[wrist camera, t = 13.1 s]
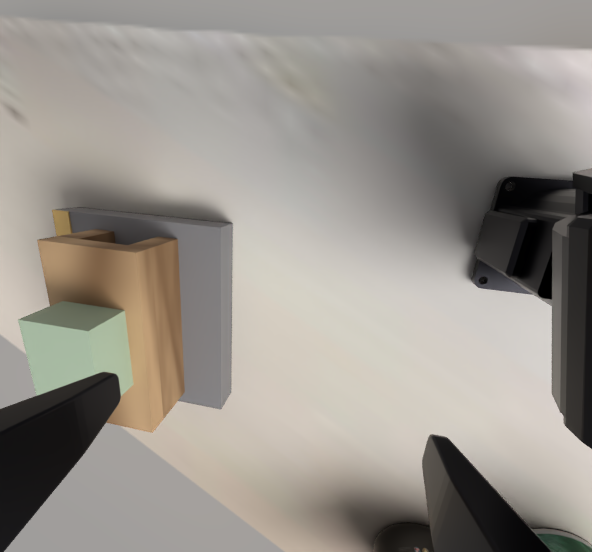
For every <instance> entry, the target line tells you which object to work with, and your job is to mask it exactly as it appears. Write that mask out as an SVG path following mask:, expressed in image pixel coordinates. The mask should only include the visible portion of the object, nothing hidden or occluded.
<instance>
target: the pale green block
mask: <svg viewBox="0 0 592 552" xmlns="http://www.w3.org/2000/svg"><path fill="white" fill-rule="evenodd" d="M18 321H19V325H20V330H21V334H22V338H23V342H24V346H25V350H26V354H27V358H28V362H29V366H30V370H31V375H32V379H33V383H34V387H35V391H36V395H37V396H38V395H40V394H43V393H46V392H48V391H51V390H54V389H57V388H59V387H62V386H65V385H68V384H70V383H73V382H76V381H79V380H81V379H84V378H87V377H90V376H92V375H95V374H98V373H101V372H110V373H115V374H117V376H118V377H119V384H120V392H121V396H122V395H123V394H124V393H125V392H126V391H127V390H128V389H129V388H130V387H131V386H132V385H134V384H133V376H132V367H131V359H130V350H129V342H128V333H127V325H126V316H125V310H118V309H112V308H105V307H99V306H92V305H86V304H79V303H73V302H66V301H62V302H59V303H57V304H55V305H52V306H50V307H47V308H45V309H42V310H40V311H38V312H35V313H33V314H30V315H28V316H26V317H23V318H21V319H18Z"/></svg>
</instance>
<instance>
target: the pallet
mask: <svg viewBox="0 0 592 552" xmlns="http://www.w3.org/2000/svg"><path fill="white" fill-rule="evenodd" d="M37 241H38V246H39V252H40V257H41V262H42V267H43V272H44V277H45V282H46V287H47V293H48V298H49V303H50V306H52V305H55V304H57V303H59V302H62V301H66V302H73V303H79V304H86V305H92V306H99V307H105V308H112V309H118V310H125V316H126V325H127V333H128V342H129V350H130V359H131V367H132V376H133V384H134V385H132V386H131V387H130V388H129V389H128V390H127V391H126V392H125V393H124V394H123V395H122V396H121V399H120V402H119V404H118V406H117V407H116V409H115V410H114V412H113V413H112V415H111V416H110V417H109V419H108V420H107V422H106V423H111V424H115V425H120V426H124V427H129V428H133V429H138V430H142V431H147V432H151V433H153V432H154V430H155V429H156V428H157V426H158V425H159V424H160V423H161V421H162V420H163V419H164V418H165V416H166V415H167V414H168V413H169V411H170V410H171V409H172V407H173V406H174V405H175V404H176V402H177V401H178V400H179V399H180V397H181V396H182V395H183V394H184V392H185V386H184V364H183V342H182V320H181V298H180V276H179V254H178V239H174V238H166V237H155V238H151V239H148V240H144V241H141V242H137V243H134V244H130V245H123V244H115V235H114V231H107V230H99V229H93V230H88V231H83V232H77V233H72V234H67V235H61V236H56V237H51V238H45V239H40V240H37Z"/></svg>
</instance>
